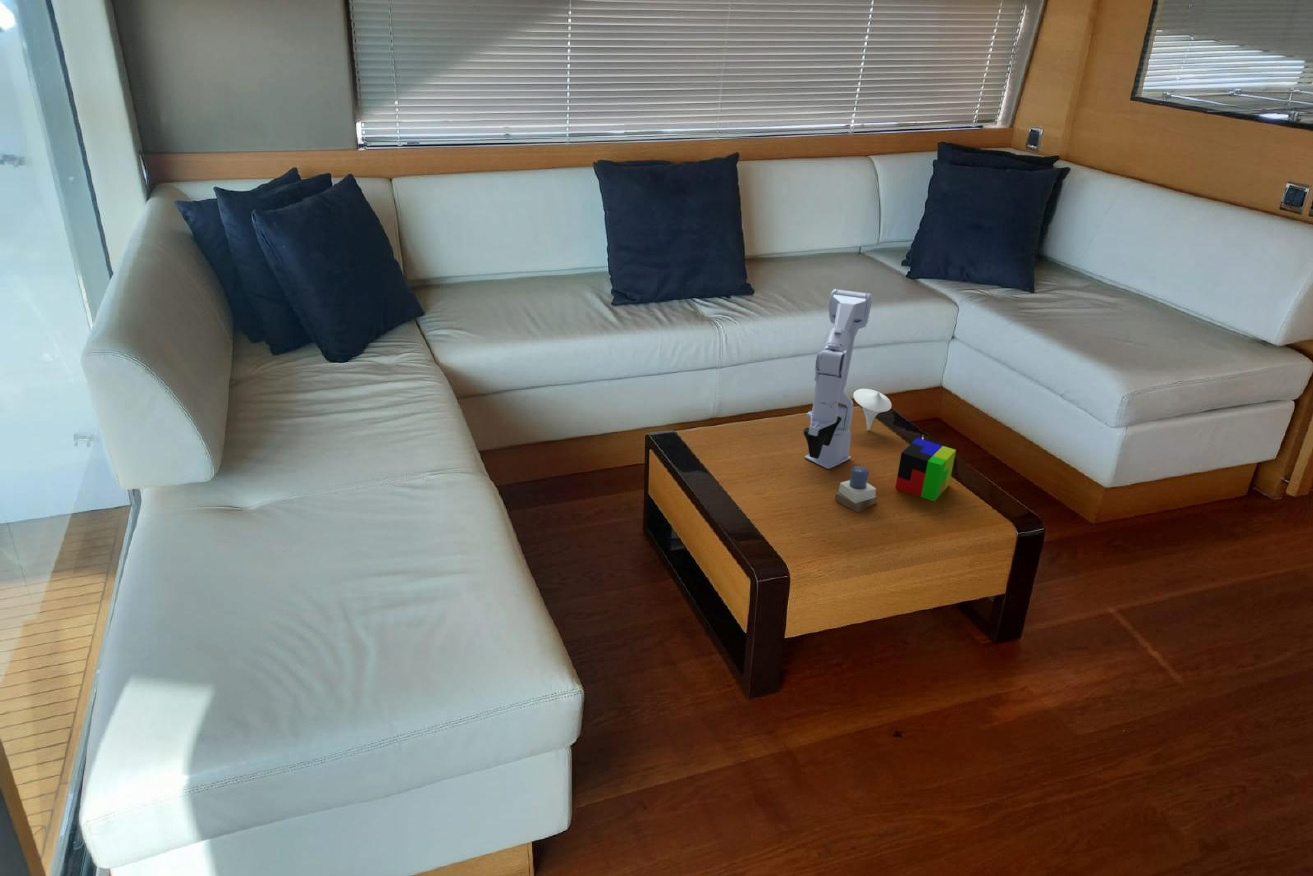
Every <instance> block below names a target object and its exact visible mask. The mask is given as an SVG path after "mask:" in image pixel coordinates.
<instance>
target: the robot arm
mask: <svg viewBox="0 0 1313 876" xmlns="http://www.w3.org/2000/svg"><path fill="white" fill-rule="evenodd" d="M830 292H831V293H830V297H829V302H828V315H829V322H830V323H832V324H834V325H833V328H831V329H829V330H828V331H827V333H826V336H825V339H824V343H823V345H822V349H821V350H818V352H817V354H816V358H815V363H814V367H815V368H814V370H815V371H814V372H815V374H814V381H815V387H814V393H813V401H812V402H813V403H812V408H811V409H812V410H810V411H808V412H807V413H806V417H808V418H810V425H809V427H807V426H806V427H805V428H804V429H803V436H804V437H805V440H806V442H807V443H806V444H807V447H808V454H807V455H805V456H804V458H805V459H806V460H808V461H811V462H812V463H815V464H817V465H818V466H821V467H823V468H825V469H828V470H829V469H833V468H834V467H836V466H839V465H841V464H842V463H844V462H847V461H849V460H851V459H852V457H851V456H850V455H849V453H850V447H851V441H852V440H851V439H852V433H851V430H850V429H851V425H852V420H853V419H852V418H853V413H854V403H853V401H854V400H852V399H851V398H850V396H849V395H848V394H847V393H846V387H847V381H848V378H849V377H848V376H849V372H850V365H851V360H852V355H853V349H854V343H855V339H856V336H857V333H858V331H859V330H860V329H863V328H866V327H867V324H868V321H869V319H870V312H871V307H872V301H873V300H872V299H873V296H872V294H871V292H868V293H867V292H859V291H851V290H845V289H838V288H834V289H833V290H832V291H830ZM839 404H840V405H839Z"/></svg>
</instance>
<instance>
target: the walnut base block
mask: <svg viewBox="0 0 1313 876" xmlns="http://www.w3.org/2000/svg"><path fill="white" fill-rule="evenodd" d="M877 500H878V495H876V494H875V498H872V499H869V500H865V501H862V502H858V503H854V502H852V501H851V500H849V499H848V498H847V497H845V496H844V495H842V494H841V493H840V492H839V491H838V492H836V493H835V497H834V501H835V502H837V503H840V504H841V505H842V506H845V507H847V508H849V509H850V508H851V510H852V511H854V512H856V513H859V512H862V511H863V510H866V509H867V508H869V507H872V506H874V505H875V504H877V502H878V501H877Z"/></svg>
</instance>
